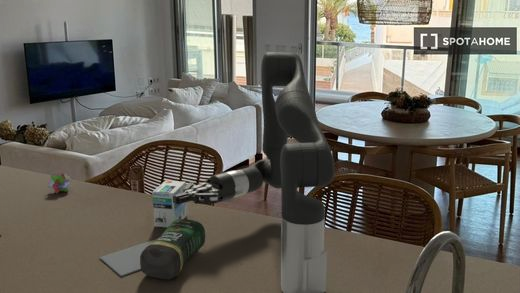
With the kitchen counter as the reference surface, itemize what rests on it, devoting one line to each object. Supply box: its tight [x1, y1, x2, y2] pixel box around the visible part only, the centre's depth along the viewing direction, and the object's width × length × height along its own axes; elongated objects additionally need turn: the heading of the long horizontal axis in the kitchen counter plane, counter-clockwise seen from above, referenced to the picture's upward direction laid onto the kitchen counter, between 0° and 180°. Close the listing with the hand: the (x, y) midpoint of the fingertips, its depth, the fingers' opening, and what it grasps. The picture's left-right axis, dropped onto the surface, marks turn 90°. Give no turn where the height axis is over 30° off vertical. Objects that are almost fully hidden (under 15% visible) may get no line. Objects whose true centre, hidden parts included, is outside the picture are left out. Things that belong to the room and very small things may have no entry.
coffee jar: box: [140, 218, 206, 280], centre depth 123 cm, size 10×8×19 cm
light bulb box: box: [151, 179, 189, 228], centre depth 148 cm, size 11×7×11 cm, turn 168°
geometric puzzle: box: [47, 172, 72, 196], centre depth 172 cm, size 7×7×8 cm
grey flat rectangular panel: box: [99, 237, 160, 278], centre depth 128 cm, size 12×18×1 cm, turn 131°
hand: (174, 200), depth 129 cm, fingers closed
